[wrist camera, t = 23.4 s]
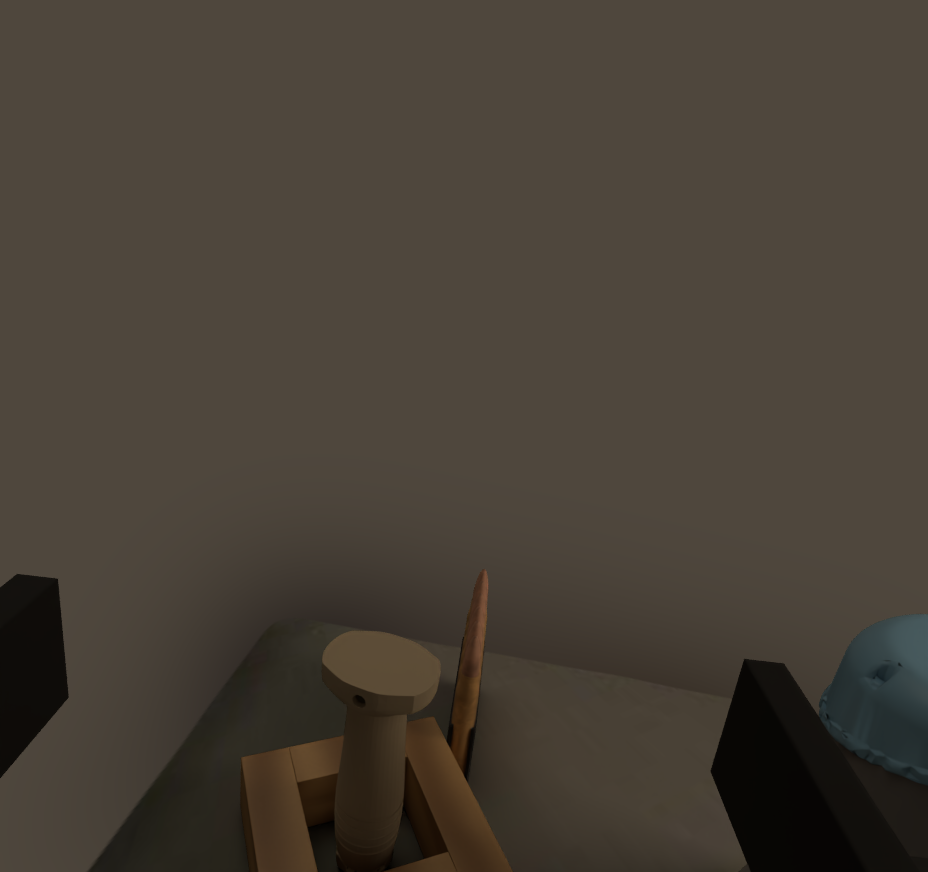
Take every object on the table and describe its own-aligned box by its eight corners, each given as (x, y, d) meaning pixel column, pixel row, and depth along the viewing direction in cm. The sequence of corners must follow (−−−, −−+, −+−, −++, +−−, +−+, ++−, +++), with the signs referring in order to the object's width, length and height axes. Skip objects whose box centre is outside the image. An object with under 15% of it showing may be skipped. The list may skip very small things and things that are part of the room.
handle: (337, 814, 44) (351, 620, 40) (427, 853, 43) (453, 654, 38) (295, 877, 40) (305, 668, 35) (393, 924, 38) (417, 709, 33)
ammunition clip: (466, 790, 48) (488, 646, 44) (440, 785, 48) (460, 642, 44) (477, 688, 58) (496, 565, 54) (456, 685, 58) (473, 561, 54)
